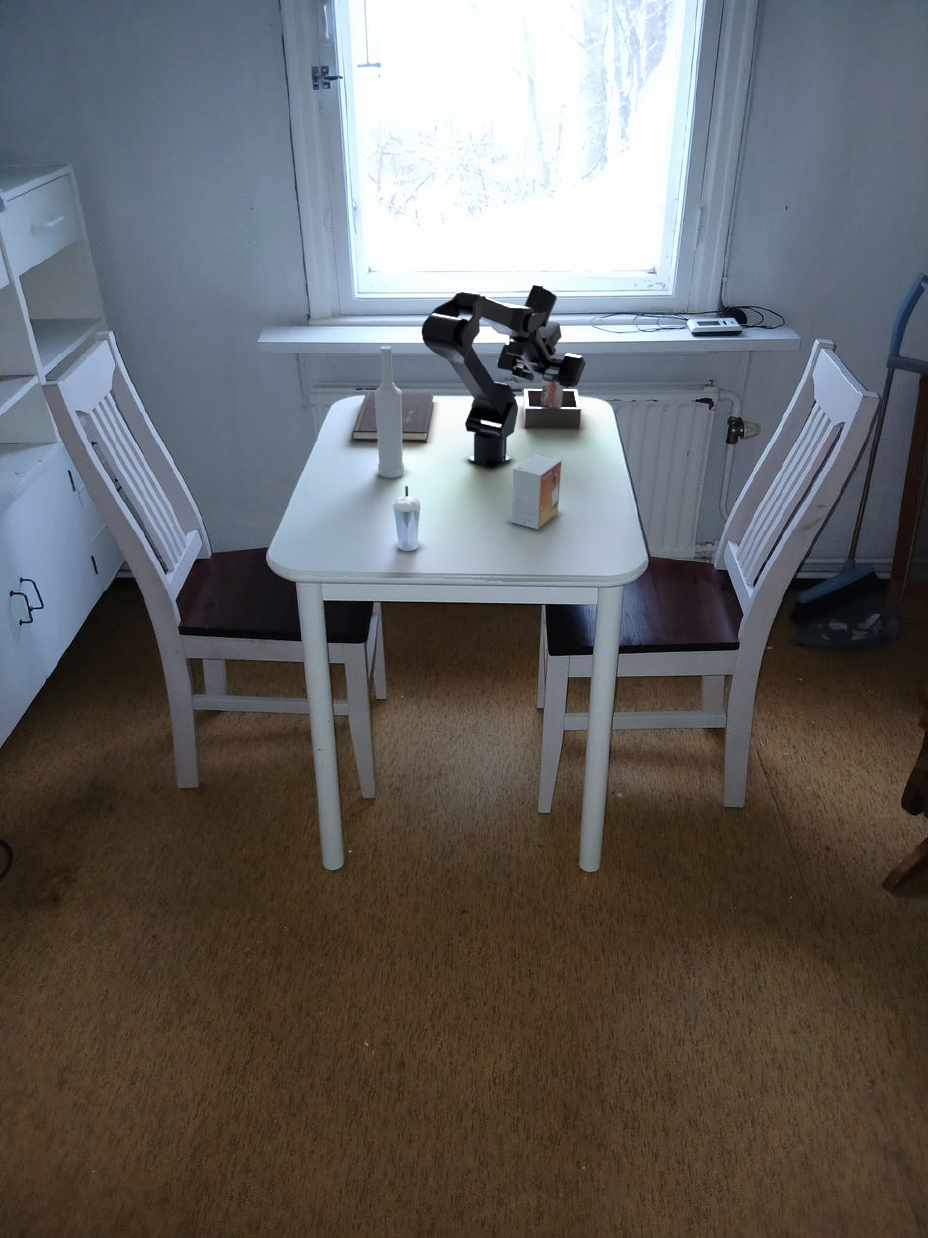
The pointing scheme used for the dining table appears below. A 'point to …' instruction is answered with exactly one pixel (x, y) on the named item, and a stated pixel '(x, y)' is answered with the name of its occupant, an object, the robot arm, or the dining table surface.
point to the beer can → (551, 390)
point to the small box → (535, 491)
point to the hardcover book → (413, 418)
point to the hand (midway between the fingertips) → (551, 382)
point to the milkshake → (407, 521)
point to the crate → (551, 411)
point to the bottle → (389, 420)
